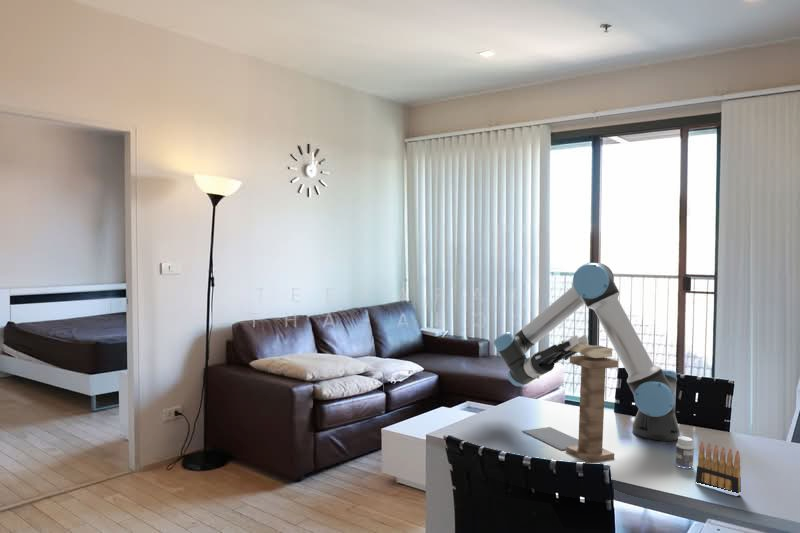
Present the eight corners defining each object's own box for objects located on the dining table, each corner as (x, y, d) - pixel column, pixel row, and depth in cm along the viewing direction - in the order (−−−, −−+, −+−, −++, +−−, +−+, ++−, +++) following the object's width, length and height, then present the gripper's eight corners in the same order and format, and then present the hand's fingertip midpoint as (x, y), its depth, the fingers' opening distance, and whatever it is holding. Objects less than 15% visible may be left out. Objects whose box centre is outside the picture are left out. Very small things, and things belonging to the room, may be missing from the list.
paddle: (556, 348, 186) (556, 341, 186) (573, 347, 189) (573, 340, 189) (594, 357, 171) (594, 349, 170) (612, 356, 173) (612, 348, 173)
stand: (566, 451, 179) (569, 356, 178) (590, 447, 183) (594, 354, 182) (589, 462, 170) (593, 362, 169) (614, 458, 174) (618, 360, 173)
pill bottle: (672, 462, 172) (673, 435, 172) (688, 463, 172) (689, 435, 171) (679, 468, 167) (680, 440, 167) (695, 469, 167) (697, 441, 167)
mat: (522, 431, 198) (522, 430, 198) (549, 428, 203) (550, 426, 203) (561, 450, 180) (561, 449, 180) (590, 446, 185) (590, 445, 185)
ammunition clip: (740, 496, 149) (743, 450, 149) (738, 497, 148) (740, 452, 148) (698, 482, 157) (700, 439, 157) (695, 484, 156) (697, 440, 156)
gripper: (560, 372, 201) (605, 349, 182) (523, 376, 194) (565, 351, 175) (554, 352, 204) (597, 327, 185) (517, 355, 197) (558, 329, 179)
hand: (581, 339), depth 180 cm, fingers closed on paddle, 3 cm apart
